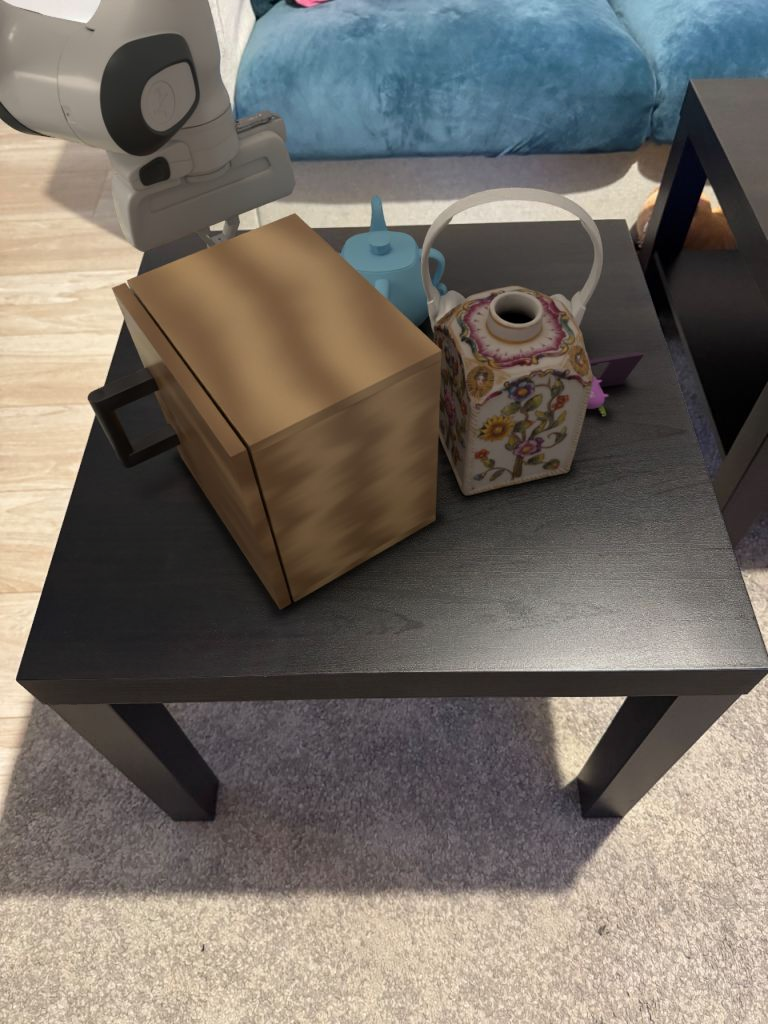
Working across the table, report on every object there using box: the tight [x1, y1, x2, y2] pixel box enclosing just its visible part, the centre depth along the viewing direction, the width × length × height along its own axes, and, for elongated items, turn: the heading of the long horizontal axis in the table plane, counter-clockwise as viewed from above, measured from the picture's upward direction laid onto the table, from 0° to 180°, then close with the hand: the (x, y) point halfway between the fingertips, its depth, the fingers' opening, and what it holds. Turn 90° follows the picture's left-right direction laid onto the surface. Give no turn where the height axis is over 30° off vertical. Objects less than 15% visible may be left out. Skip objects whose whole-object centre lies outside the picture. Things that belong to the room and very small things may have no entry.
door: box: [87, 282, 292, 610], centre depth 62 cm, size 7×22×22 cm, turn 33°
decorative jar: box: [432, 285, 594, 496], centre depth 70 cm, size 12×12×18 cm
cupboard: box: [126, 212, 442, 603], centre depth 66 cm, size 16×22×22 cm
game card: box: [586, 351, 645, 417], centre depth 78 cm, size 7×5×9 cm
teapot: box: [337, 194, 448, 328], centre depth 86 cm, size 13×14×11 cm
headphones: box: [421, 187, 604, 334], centre depth 77 cm, size 7×18×20 cm, turn 84°
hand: (223, 252), depth 87 cm, fingers closed
